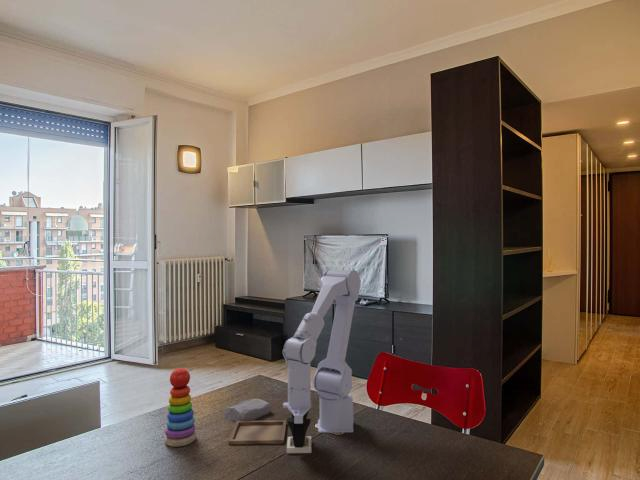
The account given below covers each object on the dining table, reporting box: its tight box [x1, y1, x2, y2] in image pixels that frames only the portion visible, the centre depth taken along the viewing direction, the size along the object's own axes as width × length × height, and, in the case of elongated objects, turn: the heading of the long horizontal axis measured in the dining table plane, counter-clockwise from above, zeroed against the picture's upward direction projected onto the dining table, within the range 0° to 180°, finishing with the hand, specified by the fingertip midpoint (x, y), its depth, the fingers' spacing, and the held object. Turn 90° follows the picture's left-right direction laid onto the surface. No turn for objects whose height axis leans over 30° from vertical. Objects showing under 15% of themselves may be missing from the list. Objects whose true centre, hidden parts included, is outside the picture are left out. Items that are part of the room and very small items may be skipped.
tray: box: [228, 419, 287, 446], centre depth 116 cm, size 14×12×1 cm
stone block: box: [224, 398, 272, 422], centre depth 129 cm, size 12×5×10 cm
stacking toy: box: [164, 367, 197, 448], centre depth 112 cm, size 8×8×19 cm
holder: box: [286, 435, 312, 454], centre depth 108 cm, size 6×6×2 cm
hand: (299, 440), depth 108 cm, fingers open, 6 cm apart
